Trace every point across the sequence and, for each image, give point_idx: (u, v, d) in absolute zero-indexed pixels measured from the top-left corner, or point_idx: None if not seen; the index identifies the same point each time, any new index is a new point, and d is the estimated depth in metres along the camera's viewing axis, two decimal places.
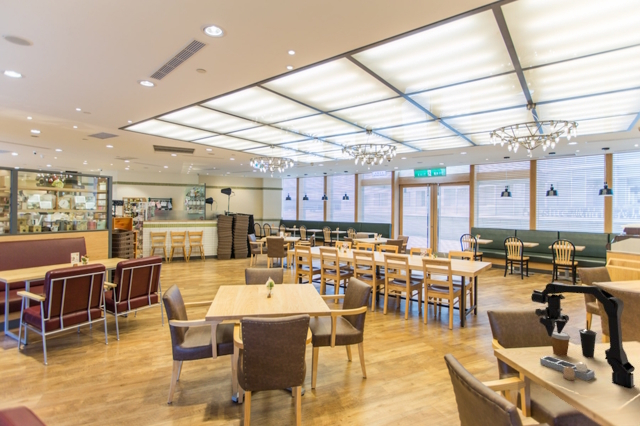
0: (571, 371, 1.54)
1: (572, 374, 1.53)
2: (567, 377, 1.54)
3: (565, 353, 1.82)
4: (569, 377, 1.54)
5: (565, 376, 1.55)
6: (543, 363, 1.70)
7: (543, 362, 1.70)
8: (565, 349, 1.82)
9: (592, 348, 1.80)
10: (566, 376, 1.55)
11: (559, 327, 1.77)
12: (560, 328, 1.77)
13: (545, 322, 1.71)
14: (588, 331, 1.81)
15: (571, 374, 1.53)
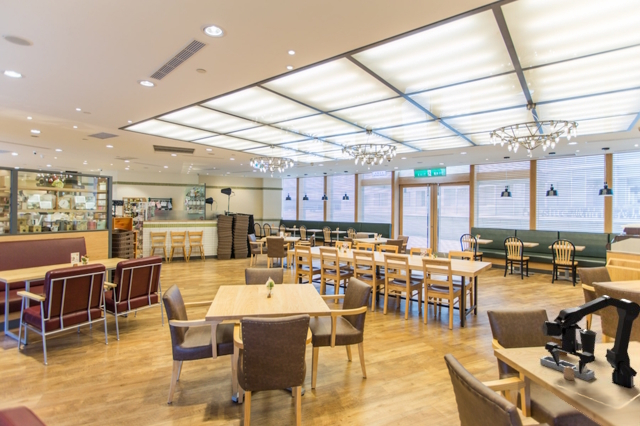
0: (571, 371, 1.54)
1: (572, 374, 1.53)
2: (567, 377, 1.54)
3: (565, 353, 1.82)
4: (569, 377, 1.54)
5: (565, 376, 1.55)
6: (543, 363, 1.70)
7: (543, 362, 1.70)
8: None
9: (592, 348, 1.80)
10: (566, 376, 1.55)
11: None
12: None
13: None
14: (588, 331, 1.81)
15: (571, 374, 1.53)
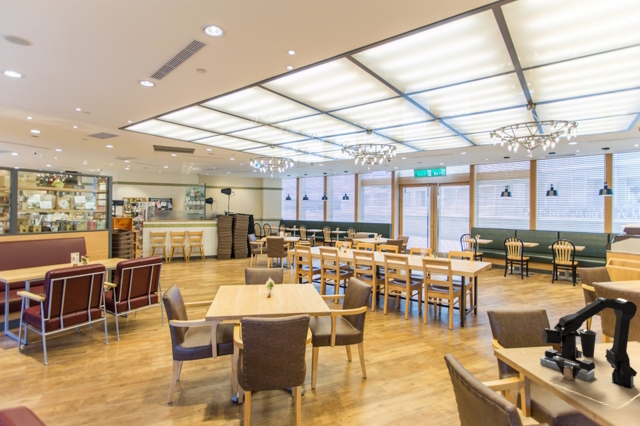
0: (571, 371, 1.54)
1: (572, 374, 1.53)
2: (567, 377, 1.54)
3: None
4: (569, 377, 1.54)
5: (565, 376, 1.55)
6: (543, 363, 1.70)
7: (543, 362, 1.70)
8: None
9: (592, 348, 1.80)
10: (566, 376, 1.55)
11: None
12: None
13: None
14: (588, 331, 1.81)
15: (571, 374, 1.53)
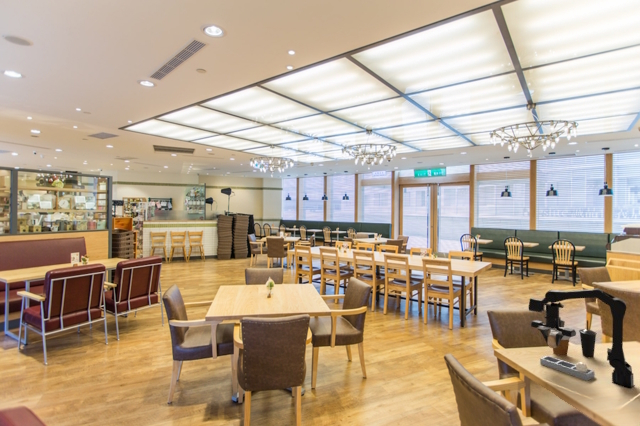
0: (554, 339, 1.67)
1: (555, 341, 1.67)
2: (551, 344, 1.67)
3: (565, 353, 1.82)
4: (552, 344, 1.67)
5: (549, 343, 1.68)
6: (543, 363, 1.70)
7: (543, 362, 1.70)
8: (565, 349, 1.82)
9: (592, 348, 1.80)
10: (550, 343, 1.68)
11: None
12: None
13: None
14: (588, 331, 1.81)
15: (554, 341, 1.67)
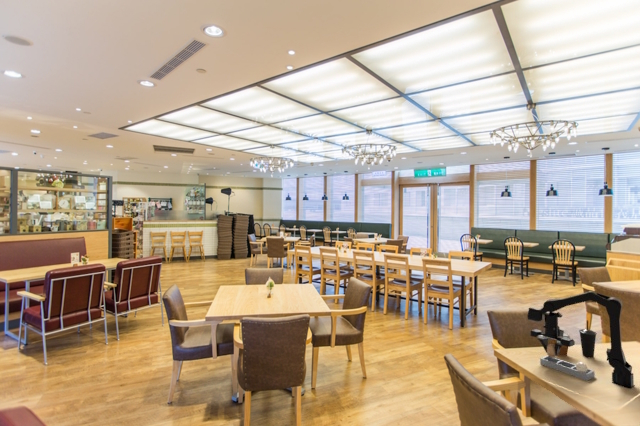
0: (553, 348, 1.68)
1: (554, 351, 1.68)
2: (550, 354, 1.69)
3: (565, 353, 1.82)
4: (551, 353, 1.68)
5: (548, 353, 1.70)
6: (543, 363, 1.70)
7: (543, 362, 1.70)
8: (565, 349, 1.82)
9: (592, 348, 1.80)
10: (549, 353, 1.69)
11: None
12: None
13: None
14: (588, 331, 1.81)
15: (553, 351, 1.68)
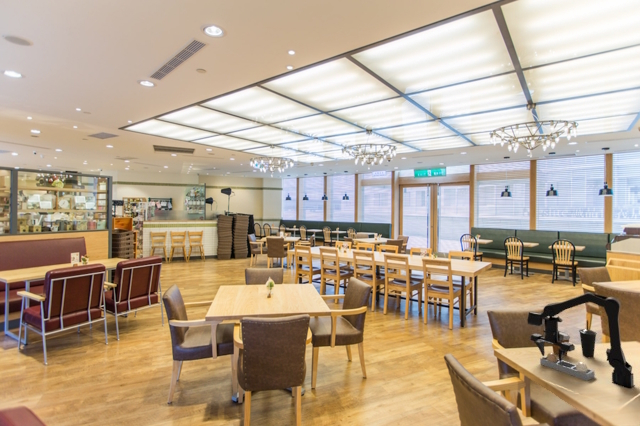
0: (554, 357, 1.68)
1: (555, 360, 1.68)
2: None
3: (565, 353, 1.82)
4: None
5: None
6: (543, 363, 1.70)
7: (543, 362, 1.70)
8: None
9: (592, 348, 1.80)
10: None
11: None
12: None
13: None
14: (588, 331, 1.81)
15: (554, 360, 1.68)
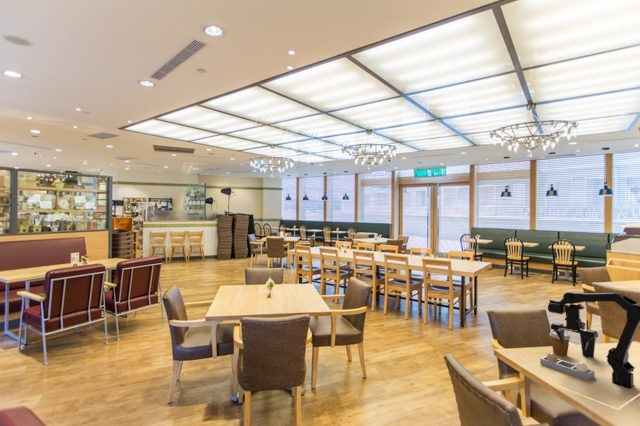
0: (553, 357, 1.68)
1: (554, 359, 1.68)
2: None
3: (565, 353, 1.82)
4: None
5: None
6: (543, 363, 1.70)
7: (543, 362, 1.70)
8: (565, 349, 1.82)
9: (592, 348, 1.80)
10: None
11: None
12: None
13: None
14: None
15: (553, 359, 1.68)
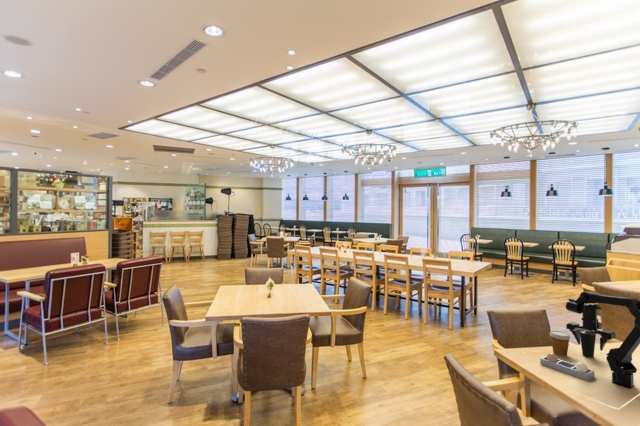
0: (554, 357, 1.68)
1: (554, 360, 1.68)
2: None
3: (565, 353, 1.82)
4: None
5: None
6: (543, 363, 1.70)
7: (543, 362, 1.70)
8: (565, 349, 1.82)
9: (592, 348, 1.80)
10: None
11: None
12: None
13: None
14: None
15: (554, 360, 1.68)
